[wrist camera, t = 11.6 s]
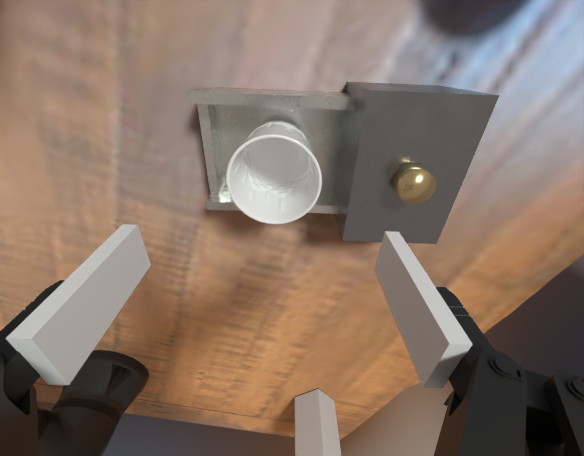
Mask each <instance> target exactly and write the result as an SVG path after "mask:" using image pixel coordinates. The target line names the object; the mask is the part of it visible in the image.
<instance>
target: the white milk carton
mask: <svg viewBox="0 0 584 456" xmlns="http://www.w3.org/2000/svg"><path fill="white" fill-rule="evenodd" d="M295 456H341V450H340V443H339V435H338V427H337V419H336V411H335V404H334V400H333V399H332V398H330V397H329V396H328V395H326V394H325V393H324V392H322V391H321V390H319V389H316V390H314V391H311V392H308V393H305V394H302V395H300V396H297V397H295Z"/></svg>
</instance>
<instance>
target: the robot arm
mask: <svg viewBox="0 0 584 456" xmlns="http://www.w3.org/2000/svg"><path fill="white" fill-rule="evenodd" d="M150 266H151V264H150V261H149V258H148V255H147V252H146V249H145V246H144V243H143V240H142V237H141V234H140V231H139V228H138V225H122V226H121V227H120V228H119V229H118V230H116V231H115V232H114V233H113V234H112V235H111V236H110V237H109V238H108V239H107V240H106V241H105V242H104V243H103V244H102V245H101V246H100V247H99V248H98V249H97V250H96V251H95V252H94V253H93V254H92V255H91V256H90V257H89V258H88V259H87V260H86V261H85V262H84V263H83V264H82V265H80V266H79V267H78V268H77V269H76V270H75V271H74V272H73V273H72V274H71V275H70V276H69V277H68V278H67V279H66V280H60V281H58V282H57V283H55V284H53V285H52V286H50V287H48V288H47V289H45V290H44V291H43V292H42V293H41V294H40V295H39V296H38V297H37V298H36V299H35V301H34V302H31V303H30V304H29V305H28V306H27V307H26V309H25V310H23V311H22V312H21V313H20V314H19V315H17V316H16V317H15V318H14V319H13V320H12V321H11V322H10V323H9V324H8V325H7V326H6V327H5V328H3V329H2V330H1V331H0V456H103V454H104V452H105V450H106V448H107V446H108V443H109V441H110V439H111V437H112V435H113V433H114V430H115V428H116V426H117V424H118V422H119V420H120V418H121V416H122V414H123V413H124V411H125V410H126V409H127V408H128V406H129V405H130V404H131V403H132V402H133V400H134V399H135V398H136V397H137V395H138V394H139V393H140V392H141V390H142V389H143V388H144V386H145V384H146V382H147V380H148V377H149V373H148V371H147V369H146V368H145V366H144V365H143V364H141V363H140V362H139V361H137V360H135V359H134V358H132V357H129V356H127V355H124V354H121V353H117V352H112V351H105V350H94V351H93V349H94V348H95V346H96V345H97V344H98V342H99V341H100V339H101V338H102V336H103V335H104V333H105V332H106V330H107V329H108V327H109V326H110V324H111V323H112V322H113V320H114V319H115V317H116V316H117V314H118V313H119V311H120V310H121V308H122V307H123V305H124V304H125V302H126V301H127V300H128V298H129V297H130V295H131V294H132V292H133V291H134V289H135V288H136V286H137V285H138V283H139V282H140V280H141V279H142V278H143V276H144V275H145V273H146V272H147V270H148V269H149V267H150ZM374 271H375V273H376V275H377V278H378V280H379V283H380V285H381V287H382V290H383V292H384V295H385V297H386V299H387V302H388V304H389V307H390V309H391V312H392V314H393V316H394V319H395V321H396V324H397V326H398V328H399V331H400V333H401V336H402V338H403V340H404V343H405V345H406V348H407V350H408V352H409V355H410V357H411V360H412V362H413V365H414V367H415V369H416V372H417V374H418V377H419V379H420V381H421V384H422V386H423V388H443V387H444V385H445V384H446V382H447V381H448V380H449V381H450V383H451V385H452V387H453V388H454V390H453V392H452V393H451V394H450V396H449V397H448V398H447V400H446V401H445V403H444V404H445V405H446V406H447V405H448V407H447V410H446V414H445V418H444V421H443V425H442V428H441V432H440V436H439V439H438V443H437V446H436V450H435V454H434V456H584V377H582V376H580V375H578V374H576V373H573V372H569V371H565V370H561V371H557V372H556V373H555V374H553V375H552V376H551V377H548V376H544V375H541V374H538V373H534V372H531V371H528V370H524V369H522V368H521V366H520V365H519V364H517V363H516V362H515V361H514V360H513V359H512V358H510V357H509V356H507V355H505V354H504V353H501V352H499V351H496V350H494V348H493V347H492V346H491V345H490V343H489V342H488V340H487V339H486V337H485V336H484V335H483V333H482V332H481V330H480V329H479V328H478V326H477V325H476V323H475V322H474V321H473V319H472V318H471V317H469V314H468V312H467V311H466V310H465V308H463V305H462V304H461V303H460V301H459V300H458V298H457V297H456V296H455V295H454V294H453V293H451V292H450V291H449V290H448V289H447V288H445V287H435V286H434V284H433V283H432V281H431V280H430V278H429V277H428V275H427V274H426V272H425V271H424V269H423V268H422V266H421V265H420V263H419V262H418V260H417V259H416V257H415V255H414V254H413V252H412V251H411V249H410V248H409V246H408V245H407V243H406V242H405V240H404V239H403V237H402V236H401V234H400V233H399V232H391V231H385V233H384V236H383V240H382V244H381V247H380V251H379V255H378V258H377V262H376V265H375V269H374ZM39 376H40V377H41V378H42V379H43V380H44V381H45V382H46V384H47V385H64V387H63V390H62V393H61V396H60V398H59V400H58V401H57V403H56V405H55V406H54V408H53V409H52V410H51V411H48V410H45V409H42V408H39V407H37V398H36V390H35V388H34V386H33V384H34V383H35V381H36V380H37V379H38V378H39Z"/></svg>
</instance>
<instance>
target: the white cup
mask: <svg viewBox="0 0 584 456" xmlns="http://www.w3.org/2000/svg"><path fill="white" fill-rule="evenodd" d="M226 182H227V188H228V191H229V194H230V196H231V198H232V200H233V202H234V203H235V205H236V206H237V207H238V208H239V209H240V210H241V211H242V212H243V213H244V214H246V215H247V216H249V217H250V218H252V219H254V220H256V221H259V222H262V223H267V224H284V223H289V222H292V221H295V220H297V219H299V218H301V217H302V216H304V215H305V214H306V213H307V212H309V211H310V210H311V208H312V207H313V206H314V205H315V203H316V201H317V199H318V197H319V195H320V191H321V186H322V176H321V170H320V167H319V164H318V162H317V160H316V157H315V155H314V152H313V150H312V148H311V146H310V144H309V142H308V140H307V138H306V137H305V135H304V133H303V132H302V131H301V130H300V129H299V128H298V127H297V126H296V125H295V124H294V123H292V122H289V121H286V120H283V119H275V120H268V121H266V122H264V123H263V124H262V125H260V126H259V127H257V128H256V129H255V130H254V131H253V132H252V133H251V134H250V135H249V136H248V137H247V138H246V139H245V141H244V142H243V143H242V144H241V146H240V147H239V148H238V149H237V150H236V152H235V153H234V154H233V156H232V158H231V160H230V162H229V164H228V168H227V174H226Z"/></svg>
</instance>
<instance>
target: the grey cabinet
mask: <svg viewBox="0 0 584 456" xmlns="http://www.w3.org/2000/svg"><path fill="white" fill-rule="evenodd" d="M188 95H189V101H190V104H197V107H198V114H199V120H200V127H201V134H202V141H203V148H204V155H205V162H206V168H207V175H208V182H209V189H210V195H209V197H208V199H207V200H206V208H207V210H232V211H241V210H240V209H239V208H238V207H237V206H236V205H235V203H234V202H233V200H232V198H231V196H230V194H229V191H228V188H227V182H226V174H227V168H228V164H229V162H230V160H231V158H232V156H233V154H234V153H235V152H236V150H237V149H238V148H239V147H240V146H241V144H242V143H243V142H244V141H245V139H246V138H247V137H248V136H249V135H250V134H251V133H252V132H253V131H254V130H255V129H256V128H257V127H259V126H260V125H262V124H263V123H264V122H266V121H268V120H275V119H283V120H286V121H289V122H292V123H294V124H295V125H296V126H297V127H298V128H299V129H300V130H301V131H302V132H303V133H304V135H305V137H306V138H307V140H308V142H309V144H310V146H311V148H312V150H313V152H314V155H315V157H316V160H317V162H318V164H319V167H320V170H321V176H322V186H321V191H320V195H319V197H318V199H317V201H316V203H315V205H314V206H313V207H312V208H311V210H310V211H309V212H307V213H328V214H335V218H336V221H337V224H338V228H339V231H340V235H341V238H342V241H357V242H382V240H383V236H384V233H385V231H391V232H399V233H400V234H401V236H402V237H403V239H404V240H405V242H406V243H427V244H437V241H438V239H439V237H440V234H441V232H442V230H443V227H444V225H445V223H446V220H447V218H448V215H449V213H450V211H451V208H452V206H453V204H454V201H455V199H456V197H457V194H458V192H459V189H460V187H461V185H462V182H463V180H464V178H465V175H466V173H467V171H468V168H469V166H470V163H471V161H472V159H473V156H474V154H475V152H476V149H477V147H478V145H479V142H480V140H481V137H482V135H483V133H484V130H485V128H486V126H487V123H488V121H489V119H490V116H491V114H492V111H493V109H494V107H495V104H496V102H497V100H498V97H499V95H493V94H487V93H481V92H475V91H469V90H462V89H456V88H450V87H444V86H429V85H406V84H384V83H361V82H347V86H346V93H342V92H319V91H296V90H272V89H249V88H226V87H201V88H197V89H194V90H190V91H188Z"/></svg>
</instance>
